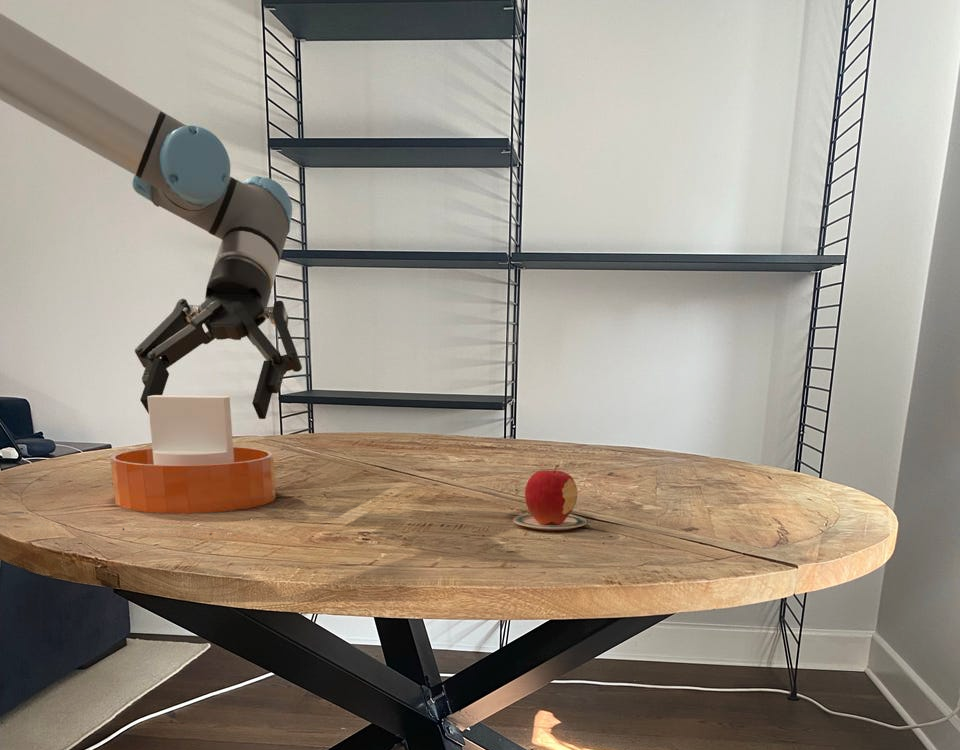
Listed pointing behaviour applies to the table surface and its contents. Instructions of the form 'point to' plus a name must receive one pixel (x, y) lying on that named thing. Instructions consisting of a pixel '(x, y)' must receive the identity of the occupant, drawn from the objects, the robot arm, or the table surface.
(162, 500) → the orange shallow round tray
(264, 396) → the robot arm
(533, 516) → the apple
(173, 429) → the cylinder with rectangular tab
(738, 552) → the table surface
